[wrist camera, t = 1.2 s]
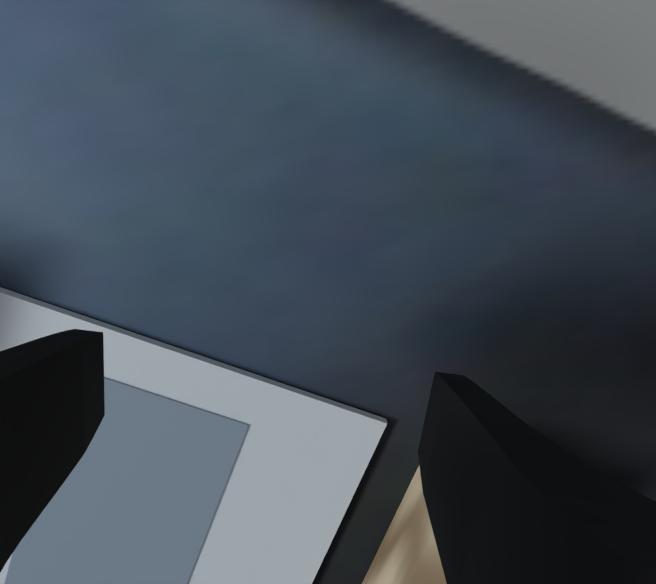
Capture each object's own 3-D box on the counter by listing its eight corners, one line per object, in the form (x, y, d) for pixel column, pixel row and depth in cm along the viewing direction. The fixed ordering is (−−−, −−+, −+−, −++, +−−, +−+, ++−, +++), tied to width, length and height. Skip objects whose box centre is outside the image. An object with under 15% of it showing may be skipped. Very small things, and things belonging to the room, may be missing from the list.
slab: (462, 621, 25) (487, 708, 22) (355, 591, 25) (362, 674, 21) (558, 451, 23) (606, 515, 19) (441, 412, 22) (467, 470, 18)
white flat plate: (259, 689, 26) (258, 699, 26) (-119, 588, 24) (-128, 598, 23) (385, 418, 22) (387, 424, 21) (-58, 267, 20) (-68, 270, 19)
